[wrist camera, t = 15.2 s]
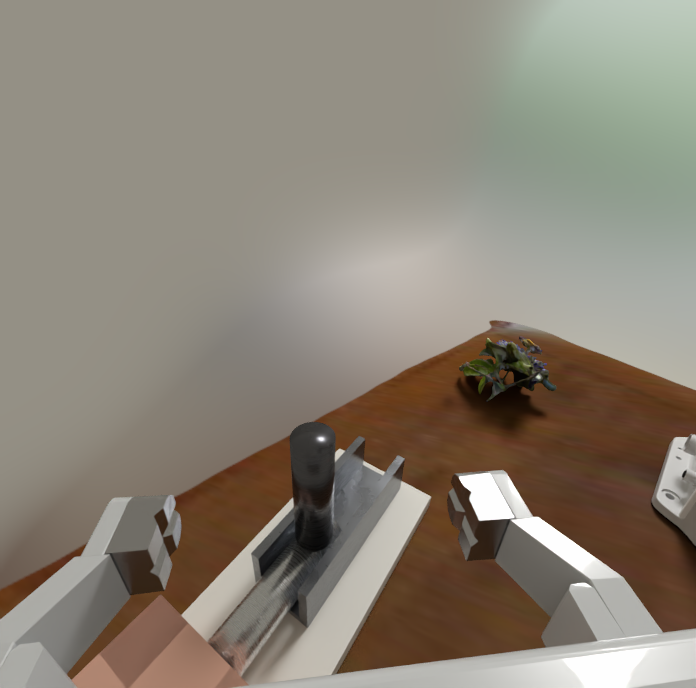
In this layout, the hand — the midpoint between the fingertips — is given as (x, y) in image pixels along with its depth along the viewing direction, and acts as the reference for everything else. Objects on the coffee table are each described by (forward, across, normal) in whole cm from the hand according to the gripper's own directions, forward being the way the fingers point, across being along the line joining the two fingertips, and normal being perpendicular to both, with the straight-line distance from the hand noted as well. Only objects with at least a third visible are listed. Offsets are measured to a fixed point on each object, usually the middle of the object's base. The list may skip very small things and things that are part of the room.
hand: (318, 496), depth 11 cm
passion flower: (+37, -30, +26) cm, 55 cm away
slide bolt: (+8, +4, +23) cm, 25 cm away
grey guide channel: (+15, -2, +24) cm, 29 cm away
